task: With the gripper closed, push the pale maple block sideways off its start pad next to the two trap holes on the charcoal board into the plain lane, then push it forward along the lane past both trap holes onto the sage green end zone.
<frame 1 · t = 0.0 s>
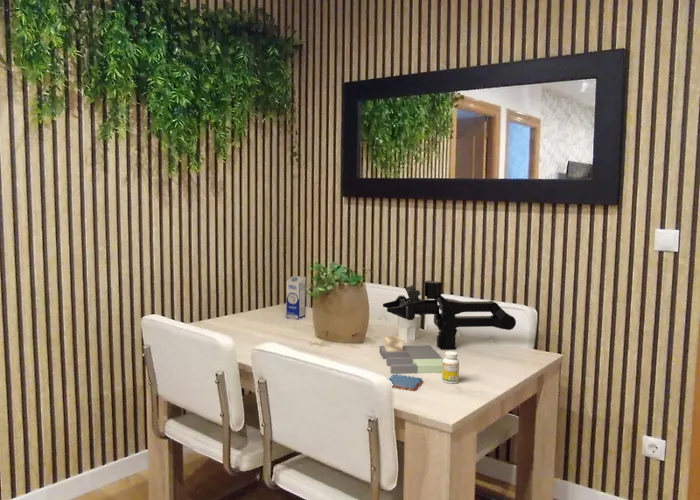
hand: (384, 307, 227), 17 cm above the table, tool horizontal, fingers open, 9 cm apart
milk carton: (295, 317, 281), on the table
maple block: (393, 348, 219), point 2 cm above the table, touching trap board
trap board: (412, 361, 212), on the table
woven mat: (403, 386, 187), on the table
supplement bottle: (450, 381, 191), on the table
cup: (408, 338, 246), on the table
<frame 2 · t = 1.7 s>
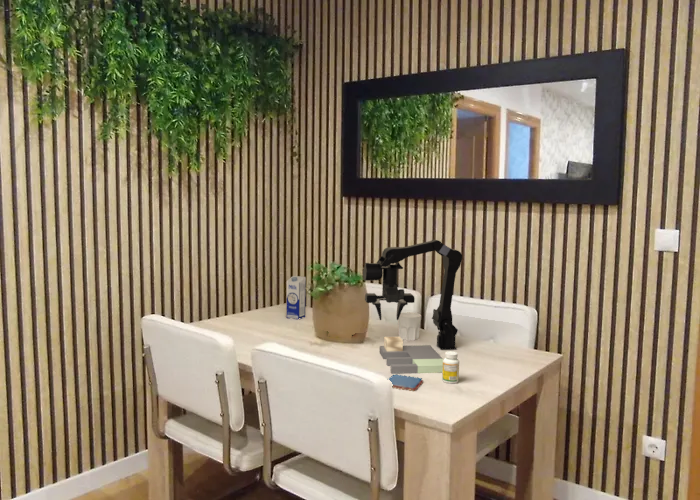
hand: (388, 319, 226), 12 cm above the table, tool pointing down, fingers open, 6 cm apart
nothing on the table moved.
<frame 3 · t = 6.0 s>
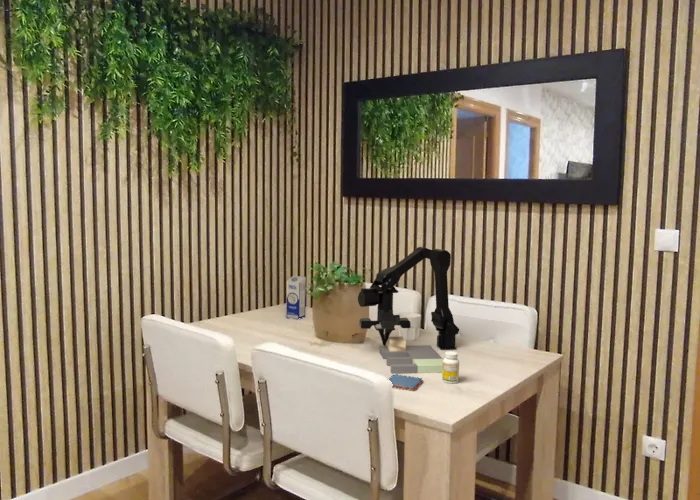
hand: (384, 345, 219), 4 cm above the table, tool pointing down, fingers closed
maple block: (396, 348, 220), point 3 cm above the table, touching gripper
everything else where it was.
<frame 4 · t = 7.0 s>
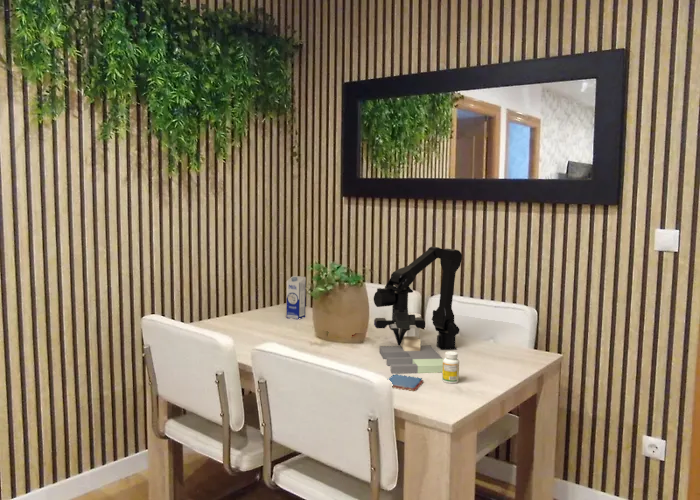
hand: (399, 345, 220), 4 cm above the table, tool pointing down, fingers closed
maple block: (410, 348, 220), point 2 cm above the table, touching gripper, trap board
everything else where it was.
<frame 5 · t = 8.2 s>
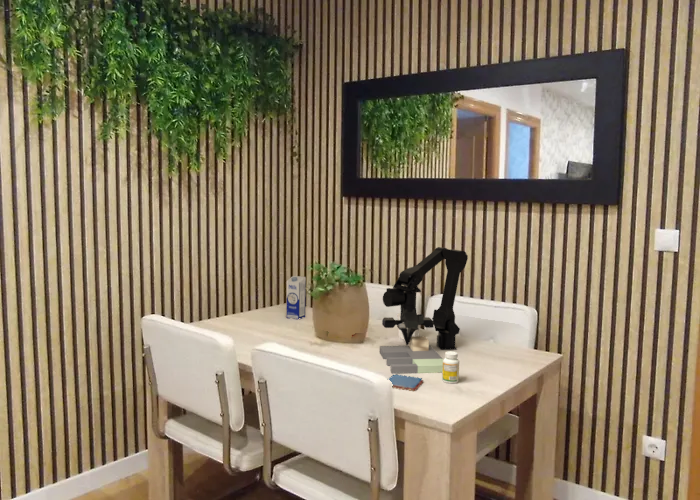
hand: (407, 344, 220), 4 cm above the table, tool pointing down, fingers closed
maple block: (418, 348, 220), point 2 cm above the table, touching gripper, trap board
everything else where it was.
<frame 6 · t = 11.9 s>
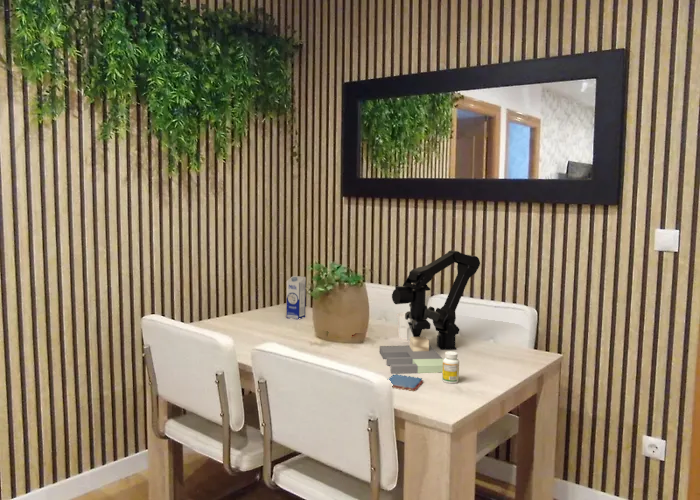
hand: (416, 341, 224), 4 cm above the table, tool pointing down, fingers closed
maple block: (419, 348, 220), point 3 cm above the table, touching gripper
everything else where it was.
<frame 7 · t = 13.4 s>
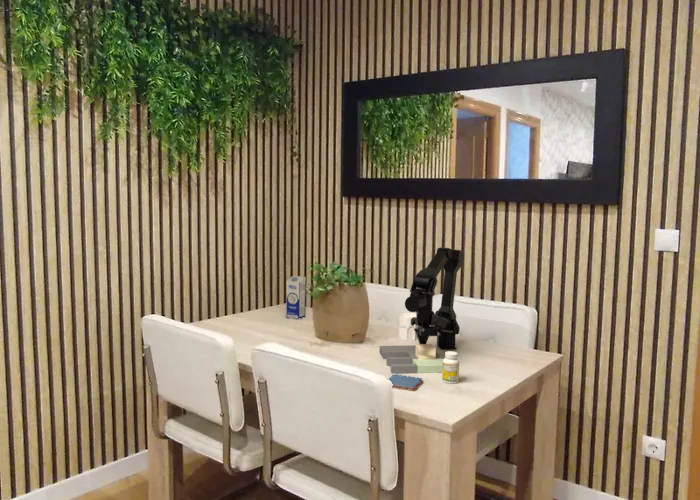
hand: (423, 349, 214), 4 cm above the table, tool pointing down, fingers closed
maple block: (425, 357, 209), point 2 cm above the table, touching gripper, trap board
everything else where it was.
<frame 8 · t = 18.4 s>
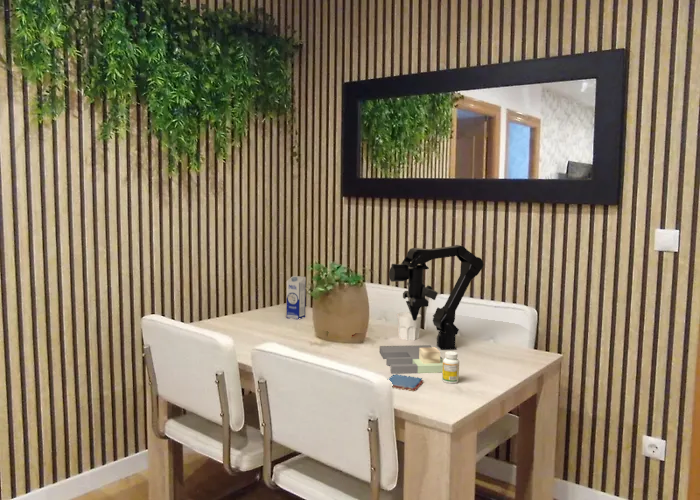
hand: (414, 320, 226), 12 cm above the table, tool pointing down, fingers closed
maple block: (429, 360, 205), point 2 cm above the table, touching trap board
everything else where it was.
at the end: maple block inside the target area on the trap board (1.5 cm from its centre), point 2.5 cm above the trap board's base; maple block touching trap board; maple block tilted 0° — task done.
